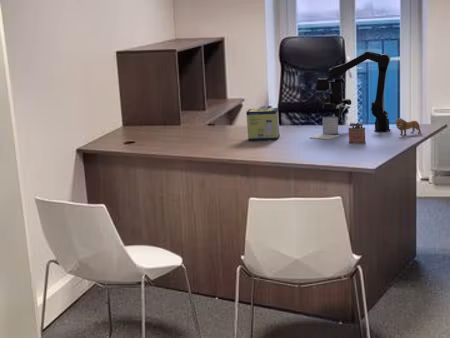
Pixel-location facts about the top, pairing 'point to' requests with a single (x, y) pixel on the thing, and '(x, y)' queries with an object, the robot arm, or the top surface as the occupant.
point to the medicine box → (330, 125)
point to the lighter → (356, 134)
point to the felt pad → (324, 136)
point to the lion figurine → (407, 126)
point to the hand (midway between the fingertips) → (337, 120)
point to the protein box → (263, 124)
